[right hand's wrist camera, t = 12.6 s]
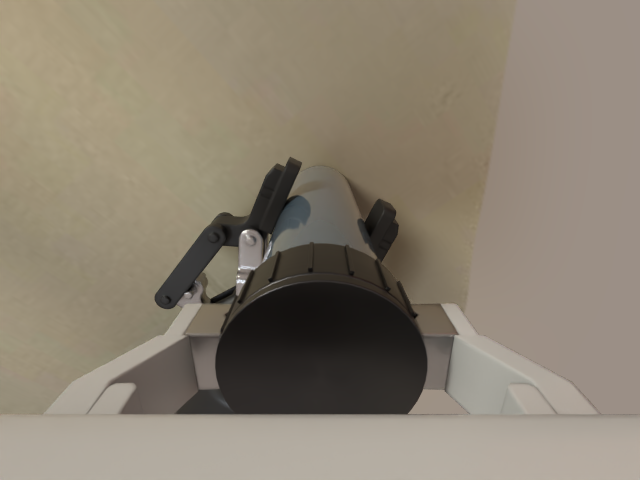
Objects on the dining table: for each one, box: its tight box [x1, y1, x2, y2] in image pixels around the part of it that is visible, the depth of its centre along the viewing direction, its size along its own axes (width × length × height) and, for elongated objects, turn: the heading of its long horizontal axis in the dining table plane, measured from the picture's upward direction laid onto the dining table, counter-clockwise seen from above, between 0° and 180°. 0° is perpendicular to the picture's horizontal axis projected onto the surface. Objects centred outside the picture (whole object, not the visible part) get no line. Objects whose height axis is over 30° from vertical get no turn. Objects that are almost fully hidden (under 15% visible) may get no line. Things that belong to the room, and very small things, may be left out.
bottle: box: [262, 166, 378, 263], centre depth 17 cm, size 5×5×17 cm
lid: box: [215, 242, 428, 414], centre depth 9 cm, size 5×5×2 cm
